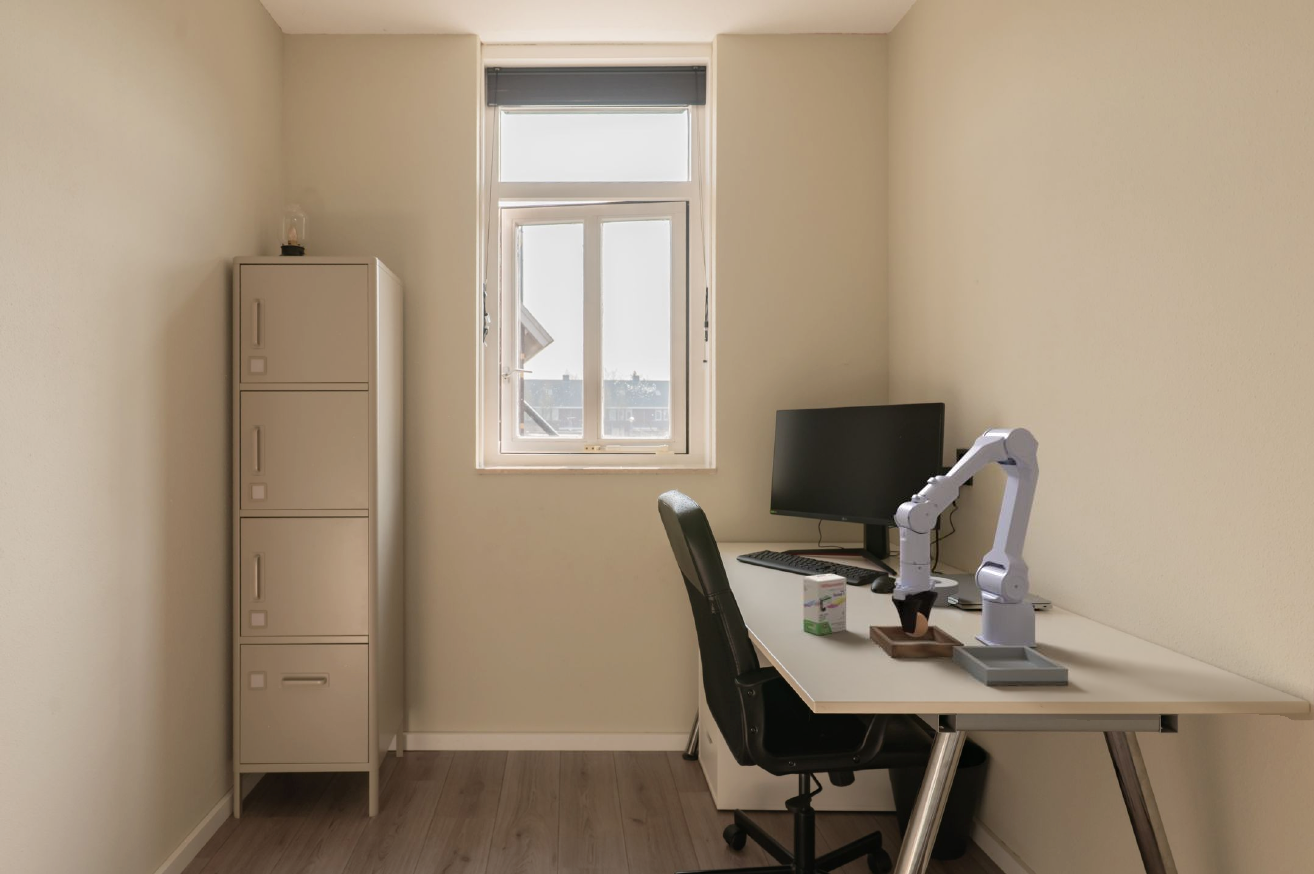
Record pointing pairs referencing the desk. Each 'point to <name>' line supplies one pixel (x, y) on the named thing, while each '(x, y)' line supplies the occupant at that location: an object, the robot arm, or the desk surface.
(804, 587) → the ink box
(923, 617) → the ball
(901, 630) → the square wooden frame
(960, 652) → the tray
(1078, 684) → the desk surface
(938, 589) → the tape roll
